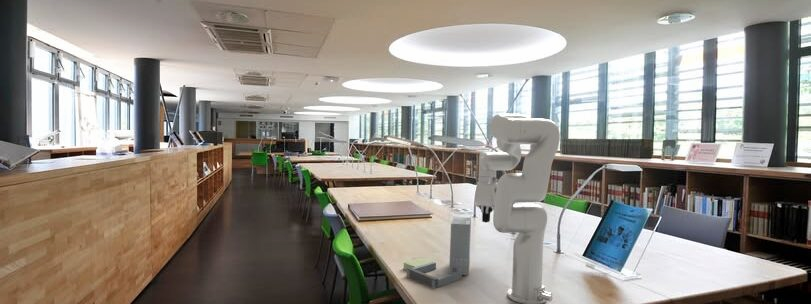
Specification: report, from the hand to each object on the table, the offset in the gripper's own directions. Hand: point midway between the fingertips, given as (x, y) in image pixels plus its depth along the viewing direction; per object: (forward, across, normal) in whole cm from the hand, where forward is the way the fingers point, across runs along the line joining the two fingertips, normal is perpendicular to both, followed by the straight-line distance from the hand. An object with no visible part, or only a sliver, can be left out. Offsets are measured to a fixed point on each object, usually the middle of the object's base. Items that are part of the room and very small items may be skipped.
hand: (485, 221), depth 166 cm
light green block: (+17, +10, +30) cm, 36 cm away
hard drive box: (+17, -1, +17) cm, 24 cm away
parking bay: (+16, -1, +32) cm, 36 cm away
